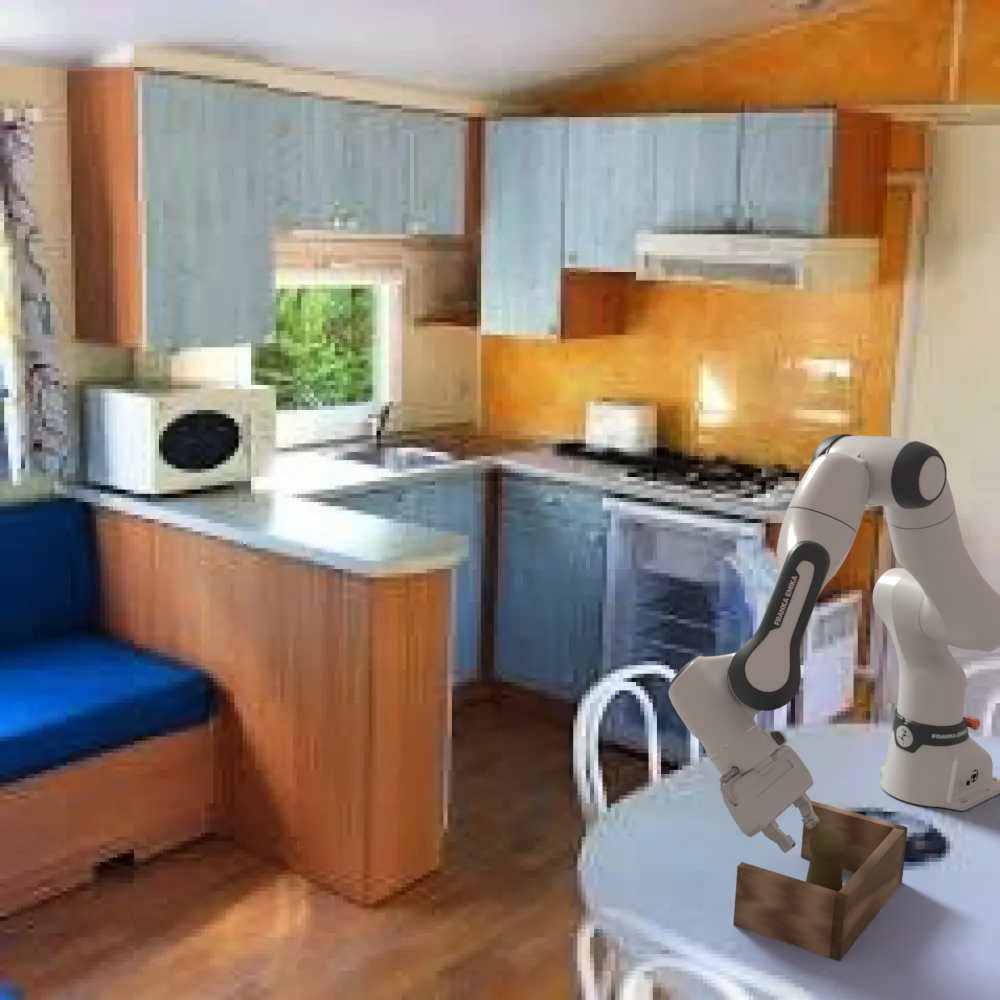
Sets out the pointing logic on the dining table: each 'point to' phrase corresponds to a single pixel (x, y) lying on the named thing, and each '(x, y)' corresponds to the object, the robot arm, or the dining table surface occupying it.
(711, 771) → the dining table surface
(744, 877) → the open-fronted crate
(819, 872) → the olive brown pawn
